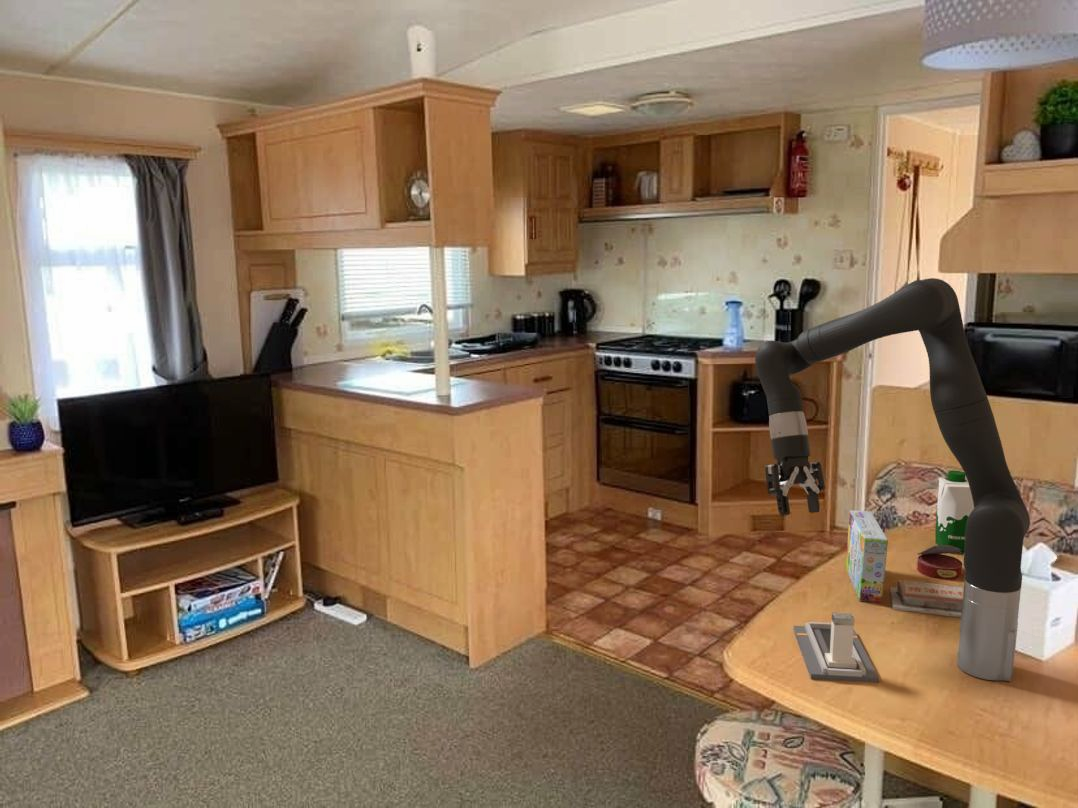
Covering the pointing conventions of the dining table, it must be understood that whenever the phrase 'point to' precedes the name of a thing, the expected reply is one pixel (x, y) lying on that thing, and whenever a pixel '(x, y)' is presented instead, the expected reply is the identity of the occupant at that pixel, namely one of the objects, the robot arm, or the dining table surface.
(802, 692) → the dining table surface
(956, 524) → the milk carton
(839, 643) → the fader tab
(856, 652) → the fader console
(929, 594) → the packaged product
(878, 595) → the snack box
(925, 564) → the canned food
